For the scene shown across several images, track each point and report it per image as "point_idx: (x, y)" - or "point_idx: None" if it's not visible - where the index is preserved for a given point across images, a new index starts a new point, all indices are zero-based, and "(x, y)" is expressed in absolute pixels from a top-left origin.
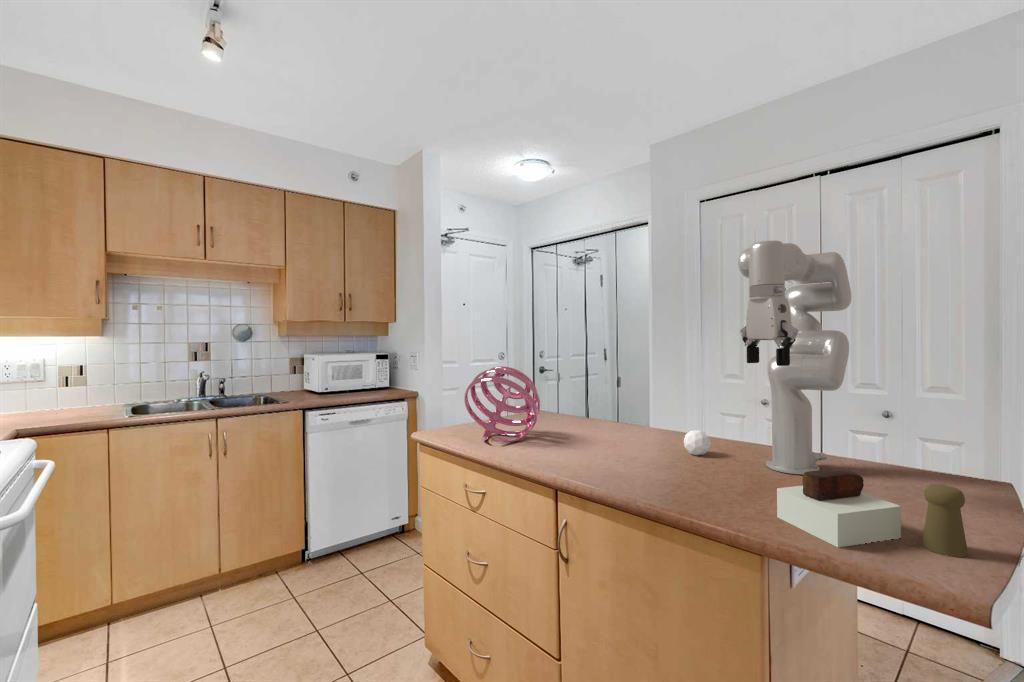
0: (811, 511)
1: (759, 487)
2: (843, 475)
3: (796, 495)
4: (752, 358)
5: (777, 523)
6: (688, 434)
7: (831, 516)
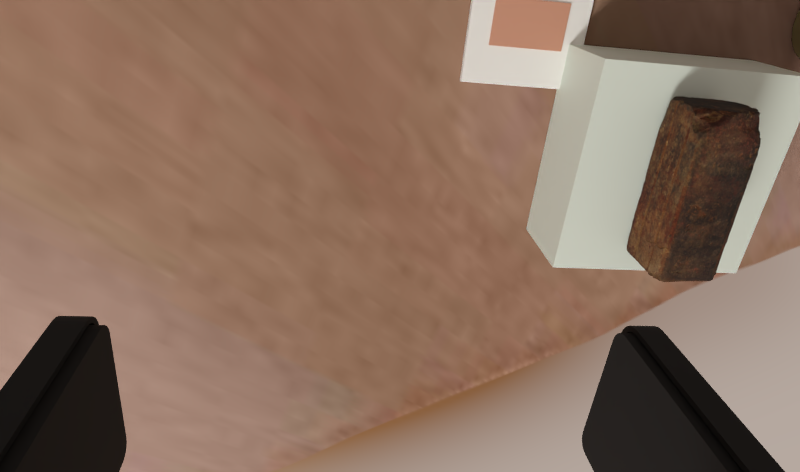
0: None
1: (320, 91)
2: (742, 196)
3: (615, 263)
4: (99, 455)
5: None
6: None
7: None
